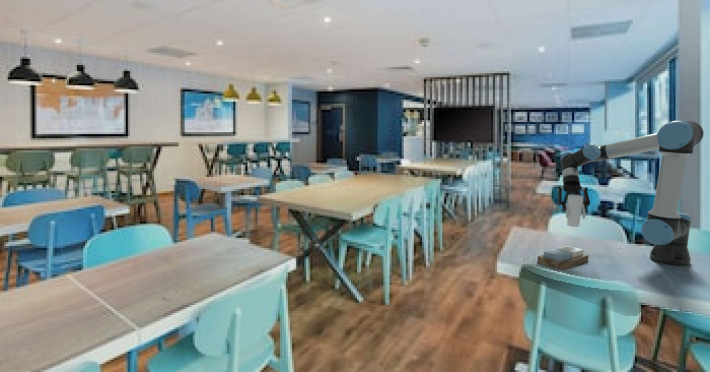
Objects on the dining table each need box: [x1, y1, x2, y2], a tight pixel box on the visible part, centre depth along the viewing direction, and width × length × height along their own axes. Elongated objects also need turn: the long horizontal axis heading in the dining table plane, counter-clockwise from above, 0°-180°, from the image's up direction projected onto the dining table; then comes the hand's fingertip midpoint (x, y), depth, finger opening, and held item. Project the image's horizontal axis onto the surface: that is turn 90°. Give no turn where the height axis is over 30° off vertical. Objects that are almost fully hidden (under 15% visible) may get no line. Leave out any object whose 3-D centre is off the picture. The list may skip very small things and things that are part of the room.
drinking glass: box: [566, 194, 584, 228], centre depth 199 cm, size 7×7×15 cm
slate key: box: [543, 248, 571, 262], centre depth 186 cm, size 8×8×3 cm
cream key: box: [556, 245, 584, 258], centre depth 191 cm, size 8×8×3 cm
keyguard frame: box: [537, 253, 589, 271], centre depth 189 cm, size 12×22×3 cm, turn 122°
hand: (575, 216), depth 196 cm, fingers closed on drinking glass, 6 cm apart
